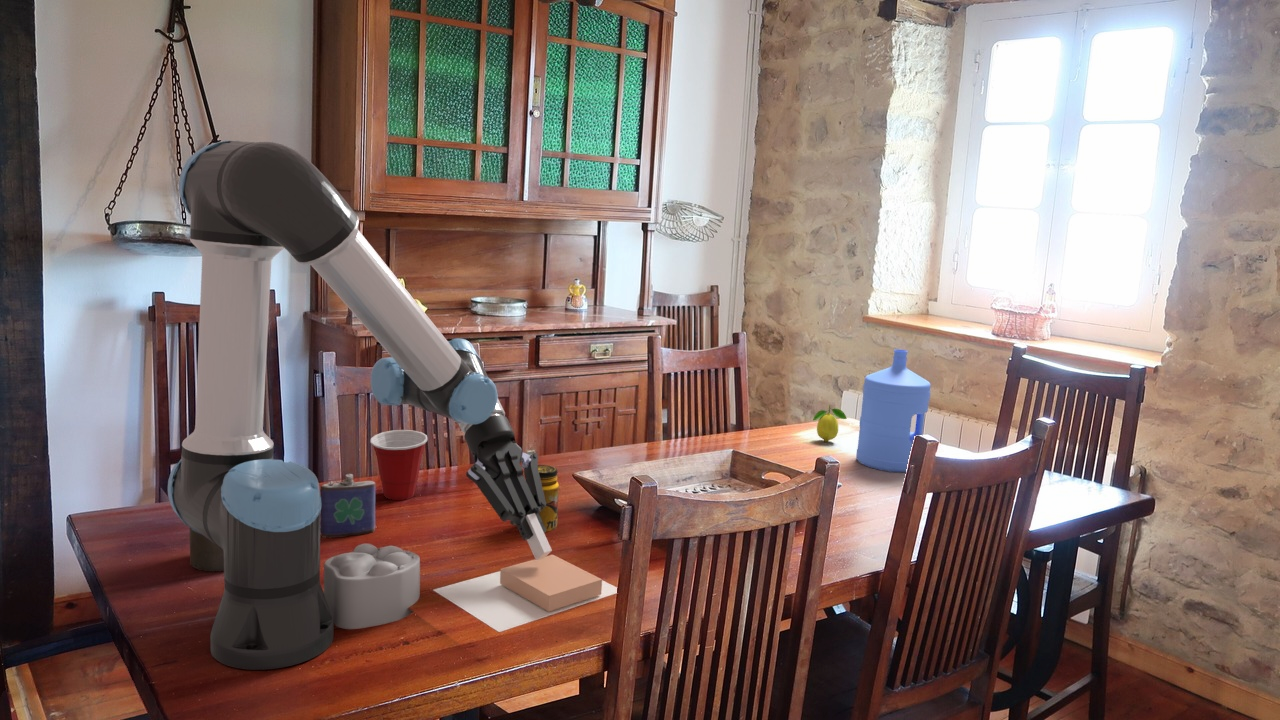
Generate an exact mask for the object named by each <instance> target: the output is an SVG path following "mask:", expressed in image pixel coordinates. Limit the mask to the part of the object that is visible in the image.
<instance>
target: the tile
mask: <svg viewBox="0 0 1280 720" xmlns="http://www.w3.org/2000/svg"><path fill="white" fill-rule="evenodd" d="M499 571H500V584H501V585H503V586H505V587H507V588H508V589H510V590H512V591H514V592H515V593H517V594H519V595H521V596H522V597H524V598H526V599H528V600H529V601H531V602H533V603H535V604H536V605H538V606H540V607H541V608H543V609H545V610H547V611H548V612H549V611H552V610H555V609H558V608H561V607H564V606H568V605H571V604H574V603H577V602H580V601H583V600H586V599H589V598H592V597H595V596H598V595H601V591H602V580H603V579H602V578H600V577H598V576H596V575H594V574H593V573H590V572H589V571H586V570H584V569H583V568H581V567H578V566H576V565H574V564H573V563H570V562H569V561H566V560H564V559H562V558H561V557H558V556H557V555H554V554H550V555H549V554H548V555H547V556H546V557H545V558H543V559H540V560H536V559H535V558H534V559H531V560H527V561H524V562H520V563H516V564H513V565H510V566H506V567H503V568H500V570H499Z"/></svg>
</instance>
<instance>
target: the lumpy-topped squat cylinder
mask: <svg viewBox="0 0 1280 720" xmlns="http://www.w3.org/2000/svg"><path fill="white" fill-rule="evenodd" d="M420 582H421V559H420V555H418V554H417V553H415V552H412V551H410V550H404V549H402V548H400V547H398V546H395V545H386V546H384V547H382V546H380V547H378V548H377V547H376V546H375V545H373V544H371V543H361V544H358V545H357V546H355V548H354V549H353V551H351V552H345V553H344V552H343V553H341V554H337V555H334V556H331V557H329V558H328V559H327V560H325V561H324V564H323V593H324V596H325V598H326V601H327V604H328V606H329V609H330V612H331V615H332V617H333V622H334V626H335V627H337V628H338V629H339V628H341V629H345V630H358V629H366V628H370V627H377V626H382V625H386V624H390V623H393V622H398V621H401V620H403V619H404V618H406V617H408V616H409V615H411V614H413V613H414V611H413V610H412V609H410V607H412V606H413V605H415V604H416V603H417V602H418V601H419V599H420V592H421V591H420V589H421V583H420Z"/></svg>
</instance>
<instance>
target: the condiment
mask: <svg viewBox="0 0 1280 720" xmlns="http://www.w3.org/2000/svg"><path fill="white" fill-rule="evenodd" d="M537 467H538V471H539V475H540V480H541V484H542V488H543V492H544V496H545V501H546V506H545V507H544V508H543V509H542V510H541V511H540V512H539V515H540V517H541V520H542V522H543V524H544V526H545V528H546V532H551V531H554V530H556V529H557V527H558V515H559V513H558V512H559V493H560V492H559V491H560V485H559V482H558V469H557V468H556V467H555V466H552V465H550V464H549V465H548V464H537ZM546 532H545V533H546Z"/></svg>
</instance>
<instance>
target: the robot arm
mask: <svg viewBox="0 0 1280 720" xmlns="http://www.w3.org/2000/svg"><path fill="white" fill-rule="evenodd" d="M178 179H179V180H178V192H179V197H180V200H181V203H182V205H183V206H184V208H185V210H186V211H187V213H188V214H189V215H190V223H189V225H190V228H189V229H190V231H189V232H190V233H189V235H190V236H189V242H190V243H192V245H193V246H194V247H196V249H197V250H198V251H199V252H200V255H201V277H200V278H201V280H200V283H201V284H200V298H199V299H200V300H199V301H200V303H199V325H198V328H199V329H198V347H197V348H198V349H197V350H198V352H197V374H196V375H197V376H196V401H195V402H196V403H195V419H194V420H195V425H194V430H193V432H191V433H190V434H189V435H188V436H187V437H185V438H184V439H183V441H182V443H181V455H180V456H181V458H180V460H179V461H177V463H175V464H174V465H173V468H172V470H171V471H170V474H169V478H168V481H167V496H168V500H169V504H170V506H171V509H172V510H173V512H174V513H175V514H176V515H177V517H178V518H179V519H180V520H181V522H182V523H183V524H184V525H185V526H187V527H188V528H189V527H190V528H191V529H192V530H193V531H195V532H197V533H200V534H202V535H203V536H205V537H206V538H208V539H209V540H211V541H212V542H213V543H215V544H216V545H218V546H219V547H221V548H222V549H223V551H224V571H223V576H224V577H223V578H224V579H223V582H224V588H223V589H224V590H223V595H222V597H221V601H220V603H219V607H218V609H217V612H216V616H215V618H214V620H213V624H212V628H211V629H210V630H211V631H210V636H209V637H210V642H209V643H210V653H211V656H212V657H213V658H214V660H216V661H217V662H219V663H221V664H223V665H225V666H228V667H230V668H231V667H232V668H235V669H241V670H250V671H251V670H254V671H259V670H260V671H262V670H265V671H266V670H273V669H274V670H276V669H281V668H287V667H292V666H295V665H298V664H301V663H305V662H306V661H307V662H308V661H310V660H312V659H314V658H316V657H318V656H320V655H321V654H323V652H325V651H326V650H327V649H328V648H329V647H330V646H331V644H332V643H333V641H334V631H335V630H334V628H335V627H334V626H335V624H334V622H333V617H332V615H331V612H330V609H329V606H328V604H327V601H326V598H325V596H324V589H323V588H322V585H321V576H320V575H321V573H320V570H321V533H320V520H321V518H320V514H321V504H322V503H321V493H320V489H321V488H320V484H319V480H318V478H317V476H316V474H315V473H314V472H313V471H312V470H311V469H309V468H308V467H306V466H304V465H302V464H299V463H297V462H294V461H287V462H286V461H285V462H284V461H283V459H275V458H274V449H275V448H274V441H273V440H272V439H271V438H270V437H269V436H268V435H267V434H266V433H265V431H264V429H263V427H264V414H265V413H264V411H265V396H266V395H265V390H266V370H267V354H268V353H267V352H268V351H267V350H268V335H269V334H268V333H269V317H270V315H269V314H270V313H269V312H270V295H271V294H270V292H271V277H272V276H271V274H272V260H273V259H274V257H276V256H277V255H278V254H279V253H281V251H283V250H284V249H285V250H286V251H287V252H288V253H289V254H290V255H291V256H292V257H293V259H294V260H295V261H296V262H297V264H302V265H308V266H309V265H310V266H311V267H312V268H313V269H314V270H315V272H317V274H318V275H319V276H320V277H321V278H322V280H323V281H324V282H325V283H326V284H327V285H328V286H329V287H330V288H331V290H332V291H333V292H334V293H335V294H336V295H337V297H339V298H340V300H341V301H342V303H344V304H345V306H346V307H347V308H348V309H349V310H350V311H351V313H353V314H354V316H355V317H356V318H357V319H358V321H360V323H361V324H362V325H363V326H364V327H365V328H366V329H367V330H368V332H369V333H370V334H371V336H373V337H374V338H375V340H376V341H377V342H378V343H379V344H380V345H381V347H382V348H383V349H384V350H385V351H386V353H387V354H388V355H390V356H389V357H382V358H379V360H377V361H376V362H375V363H374V365H373V366H372V369H371V373H370V389H371V391H372V392H371V393H372V394H373V397H374V399H375V400H376V401H377V402H378V403H379V404H381V405H383V406H395V407H398V406H401V405H409V406H412V407H416V408H417V409H418V408H419V409H421V410H424V411H428V412H429V413H433V414H435V415H438V416H439V415H440V416H442V417H445V418H447V419H450V420H453V421H454V422H456V423H457V424H458V426H459V428H460V430H461V433H463V434H464V440H465V443H466V444H467V446H468V447H467V448H468V449H469V451H470V453H471V455H472V456H473V457H474V460H473V461H474V463H472V465H471V467H470V468H469V469H468V470H467V471H466V473H465V476H466V477H467V478H468V479H469V480H470V481H472V482H473V483H474V484H475V485H476V486H477V488H479V491H480V492H481V493H482V494H483V496H484V497H485V499H486V500H487V502H488V503H489V504H490V506H491V507H492V509H493V510H494V512H495V513H496V514H497V516H498V518H500V521H502V522H508V521H510V522H509V524H510V525H512V526H516V527H517V530H518V532H519V534H520V537H521V538H522V540H524V541H526V542H527V544H528V546H529V548H530V551H531V552H532V554H533V557H534V559H536V560H540V559H543V558H545V557H546V556H549V554H550V553H551V552H552V551H553V550H552V547H551V545H550V543H549V541H548V538H547V537H546V534H545V533H546V528H545V526H544V524H543V522H542V520H541V517H540V515H539V512H540V511H541V510H542V509H543V508H544V507H545V506H546V501H545V496H544V492H543V488H542V484H541V480H540V475H539V471H538V467H537V465H539V464H538V463H539V455H538V453H535V452H533V453H532V454H529V453H525V452H523V449H522V447H521V446H520V445H518V444H517V441H516V436H515V432H514V429H513V427H512V426H511V423H510V421H509V419H508V417H507V416H506V412H505V410H504V408H503V406H502V404H501V402H500V400H499V397H498V390H497V386H496V384H495V383H494V381H493V380H492V379H491V378H490V377H489V376H488V374H487V372H486V370H485V369H486V368H485V367H484V364H483V361H482V358H481V357H480V356H479V354H478V353H477V351H476V349H475V348H474V346H473V344H472V343H471V342H470V341H468V340H467V339H465V338H458V337H457V338H452V339H451V340H447V338H446V337H445V336H444V335H443V333H442V332H441V331H440V330H439V328H438V327H437V326H436V325H435V324H434V322H433V320H432V319H430V317H429V316H428V314H426V312H425V311H424V310H423V308H422V307H421V306H420V304H418V302H417V301H416V300H415V299H414V298H413V296H412V295H411V293H410V292H409V291H408V290H407V289H406V288H405V285H403V284H402V282H401V281H400V280H399V279H398V277H397V276H396V275H395V274H394V273H393V271H392V270H391V268H390V267H389V266H388V265H387V264H386V262H385V261H384V259H382V258H381V256H380V255H379V253H378V252H377V251H376V250H375V249H374V247H373V246H372V245H371V244H370V242H369V241H368V240H367V239H366V237H365V236H364V235H363V234H362V232H361V231H360V230H359V223H360V219H359V216H358V215H357V213H356V212H355V211H354V209H353V208H352V207H351V206H350V205H349V203H348V202H347V201H346V199H345V198H344V197H343V196H342V195H341V194H340V191H338V190H337V189H336V187H334V185H333V184H332V183H331V182H330V181H329V179H328V178H327V177H326V176H325V175H324V174H323V173H322V172H321V171H320V169H318V168H317V166H315V165H314V164H313V163H312V162H311V161H310V160H309V159H308V158H307V157H306V156H304V155H302V154H301V153H300V152H298V151H296V149H293V148H292V147H289V146H287V145H284V144H281V143H278V142H277V143H276V142H273V141H258V142H257V141H256V142H255V141H241V140H240V141H239V140H224V141H218V142H215V143H212V144H211V143H210V144H208V145H206V146H203V147H201V148H199V149H197V150H196V151H195V152H194V153H193V154H192V155H191V156H190V157H189V158H188V159H187V160H186V162H185V164H184V165H183V167H182V168H181V172H180V173H179V178H178Z"/></svg>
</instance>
